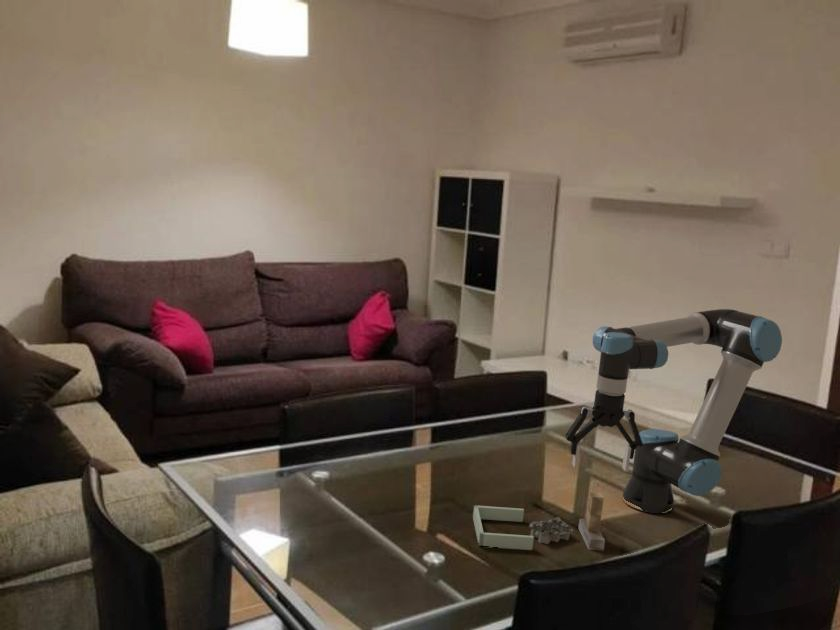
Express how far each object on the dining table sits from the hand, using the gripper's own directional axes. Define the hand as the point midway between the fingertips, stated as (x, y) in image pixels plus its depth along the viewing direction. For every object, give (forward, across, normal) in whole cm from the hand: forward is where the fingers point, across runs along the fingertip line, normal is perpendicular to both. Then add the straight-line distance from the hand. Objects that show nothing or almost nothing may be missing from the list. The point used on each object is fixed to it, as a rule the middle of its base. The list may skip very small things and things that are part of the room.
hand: (599, 467), depth 208 cm
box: (+20, +24, 0) cm, 31 cm away
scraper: (+21, 0, 0) cm, 21 cm away
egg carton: (+21, +11, 0) cm, 24 cm away
